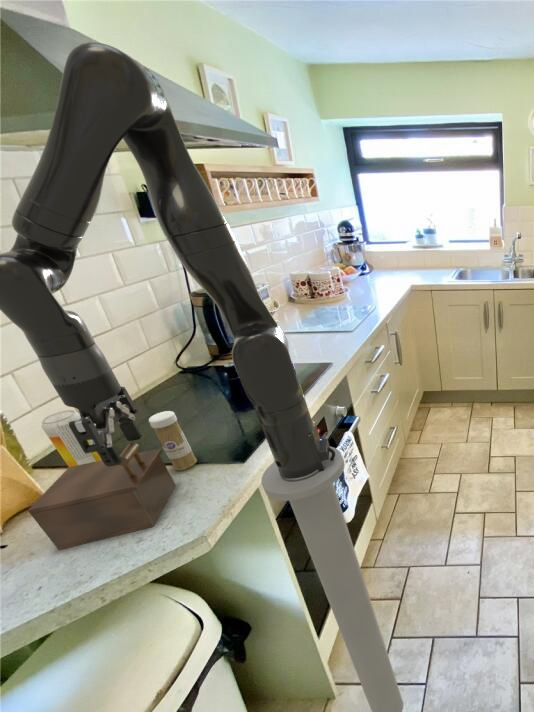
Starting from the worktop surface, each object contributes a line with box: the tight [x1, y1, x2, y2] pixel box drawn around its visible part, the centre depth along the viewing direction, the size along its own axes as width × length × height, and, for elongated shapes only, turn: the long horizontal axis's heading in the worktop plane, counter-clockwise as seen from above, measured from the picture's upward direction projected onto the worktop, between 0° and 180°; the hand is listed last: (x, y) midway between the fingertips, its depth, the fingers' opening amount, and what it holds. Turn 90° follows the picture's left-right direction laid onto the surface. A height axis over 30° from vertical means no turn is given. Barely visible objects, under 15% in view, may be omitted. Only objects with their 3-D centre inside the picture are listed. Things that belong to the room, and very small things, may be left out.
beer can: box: [40, 409, 102, 468], centre depth 92 cm, size 6×6×15 cm
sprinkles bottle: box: [148, 410, 198, 471], centre depth 93 cm, size 5×5×13 cm
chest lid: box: [27, 442, 164, 515], centre depth 78 cm, size 15×13×5 cm
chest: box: [30, 455, 177, 551], centre depth 81 cm, size 15×13×9 cm
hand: (125, 451), depth 78 cm, fingers open, 8 cm apart
